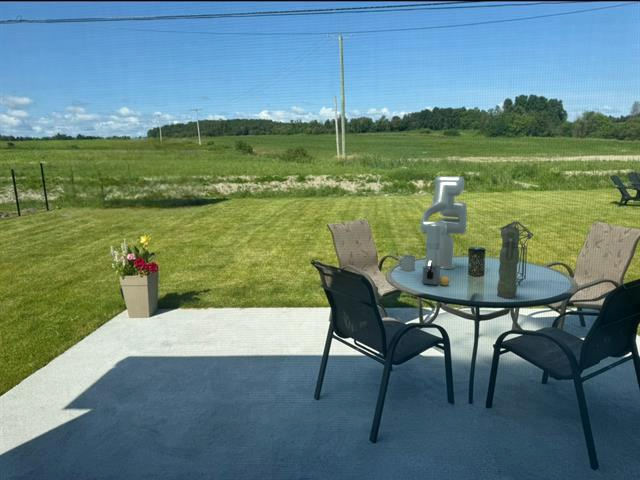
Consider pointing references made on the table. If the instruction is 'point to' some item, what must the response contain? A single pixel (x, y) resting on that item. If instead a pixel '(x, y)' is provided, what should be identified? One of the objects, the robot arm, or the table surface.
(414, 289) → the table surface
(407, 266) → the cup
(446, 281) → the ball
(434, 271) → the trap cup
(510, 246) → the tall grey column
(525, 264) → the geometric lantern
